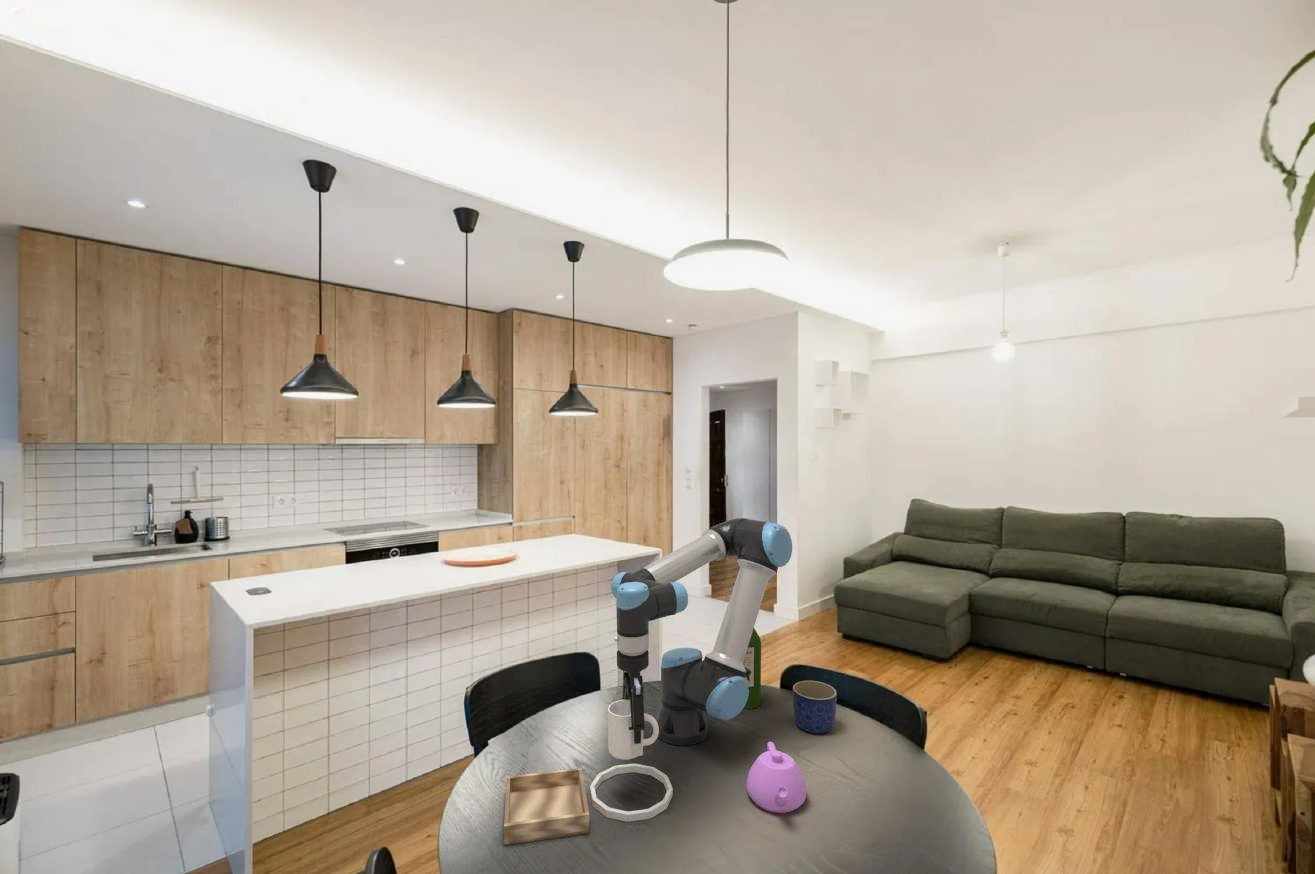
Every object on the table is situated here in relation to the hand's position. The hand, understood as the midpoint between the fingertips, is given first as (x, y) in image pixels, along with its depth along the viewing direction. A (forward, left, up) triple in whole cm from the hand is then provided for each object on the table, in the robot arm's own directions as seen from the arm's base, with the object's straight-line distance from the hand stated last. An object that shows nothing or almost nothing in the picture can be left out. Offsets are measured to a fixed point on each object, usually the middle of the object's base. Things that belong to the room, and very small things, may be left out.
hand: (633, 744), depth 138 cm
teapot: (-33, +9, -12) cm, 36 cm away
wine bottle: (-44, -38, -12) cm, 59 cm away
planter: (-58, -20, -12) cm, 62 cm away
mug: (0, +1, -2) cm, 2 cm away
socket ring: (0, 0, -12) cm, 12 cm away
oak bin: (+20, +3, -12) cm, 24 cm away
